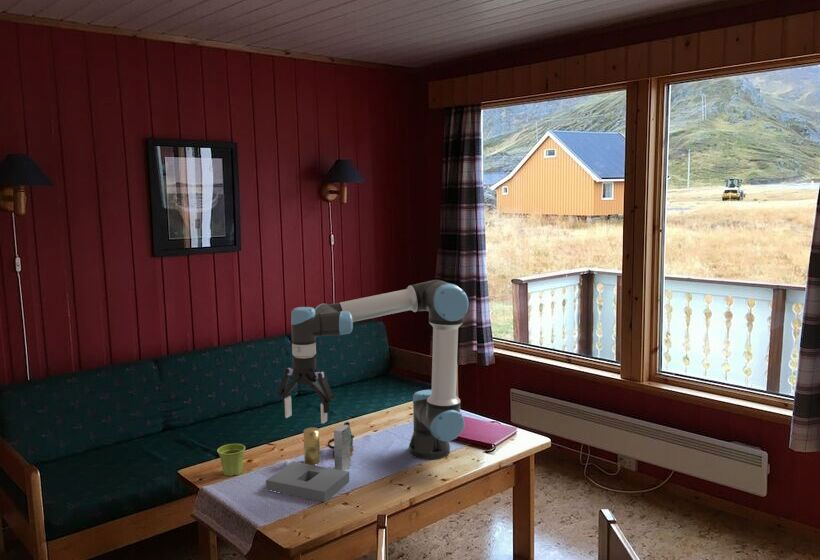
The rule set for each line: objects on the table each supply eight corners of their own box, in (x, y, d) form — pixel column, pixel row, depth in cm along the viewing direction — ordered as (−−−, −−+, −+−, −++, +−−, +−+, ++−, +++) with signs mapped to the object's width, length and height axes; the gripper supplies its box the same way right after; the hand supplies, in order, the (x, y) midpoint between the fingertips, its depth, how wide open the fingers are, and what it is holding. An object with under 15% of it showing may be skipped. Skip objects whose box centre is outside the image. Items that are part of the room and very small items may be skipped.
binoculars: (327, 423, 256) (353, 420, 255) (330, 449, 257) (357, 447, 257) (323, 431, 247) (351, 428, 246) (327, 459, 248) (354, 456, 248)
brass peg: (323, 460, 245) (322, 428, 243) (314, 466, 240) (313, 433, 238) (309, 458, 247) (308, 426, 245) (301, 464, 242) (300, 431, 240)
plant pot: (212, 476, 233) (211, 452, 232) (229, 465, 242) (227, 442, 240) (236, 480, 230) (234, 455, 228) (251, 469, 238) (250, 445, 237)
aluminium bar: (350, 466, 240) (349, 425, 237) (342, 473, 234) (341, 431, 232) (343, 465, 241) (342, 424, 239) (334, 471, 235) (333, 430, 233)
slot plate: (349, 481, 227) (349, 471, 227) (324, 502, 213) (324, 491, 212) (293, 471, 236) (293, 461, 236) (266, 490, 222) (265, 480, 221)
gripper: (264, 354, 220) (267, 417, 223) (332, 362, 210) (333, 428, 213) (278, 349, 227) (280, 410, 230) (344, 356, 217) (345, 420, 220)
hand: (306, 419), depth 221 cm, fingers open, 13 cm apart
